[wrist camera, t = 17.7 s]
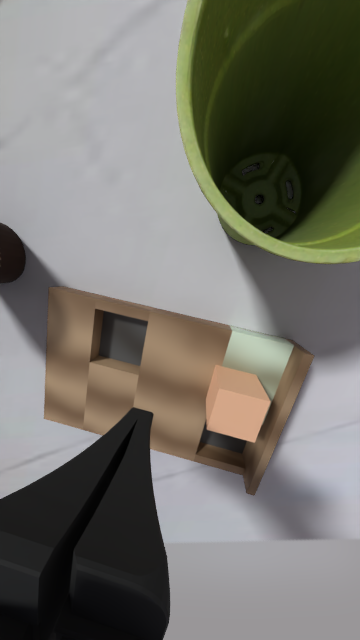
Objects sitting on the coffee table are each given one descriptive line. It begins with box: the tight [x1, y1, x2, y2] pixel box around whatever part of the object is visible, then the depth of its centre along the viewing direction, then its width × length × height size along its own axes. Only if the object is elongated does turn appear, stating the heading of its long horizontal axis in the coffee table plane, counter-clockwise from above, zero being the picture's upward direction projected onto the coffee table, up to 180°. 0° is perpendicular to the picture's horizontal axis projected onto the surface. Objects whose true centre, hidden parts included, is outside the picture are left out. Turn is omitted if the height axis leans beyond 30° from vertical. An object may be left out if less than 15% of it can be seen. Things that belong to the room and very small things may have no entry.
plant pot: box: [176, 0, 360, 264], centre depth 11 cm, size 12×12×11 cm
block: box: [206, 365, 271, 443], centre depth 17 cm, size 4×4×4 cm
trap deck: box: [44, 286, 314, 495], centre depth 20 cm, size 16×25×4 cm, turn 78°
